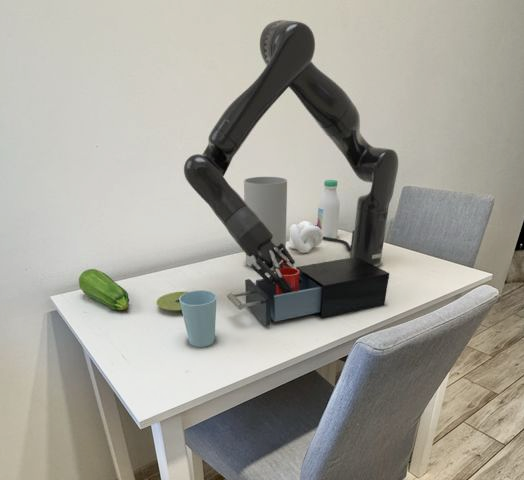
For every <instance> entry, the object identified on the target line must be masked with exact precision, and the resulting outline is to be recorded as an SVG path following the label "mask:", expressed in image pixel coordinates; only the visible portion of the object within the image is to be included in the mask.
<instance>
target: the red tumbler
mask: <svg viewBox="0 0 524 480" xmlns="http://www.w3.org/2000/svg"><path fill="white" fill-rule="evenodd" d="M279 271H280V273H281V275H282V277H284V279H285V280H286V281H287V282H288V283H289V285H290V286H291V287H292V289H293V290H292V291H291V292H295V291H299V274H300V272H299V270H298V269H296V267H294V268H291V267H285V266H284V268H279ZM279 294H284V293H283V292H282V290H281V289H280V288H279V287H278V286H277V284H276V295H279Z"/></svg>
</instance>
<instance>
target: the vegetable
mask: <svg viewBox="0 0 524 480" xmlns="http://www.w3.org/2000/svg"><path fill="white" fill-rule="evenodd" d="M78 286H79V289H80V290H81V291H82V292H83V293H84V295H86V296H87V297H90V298H92V299H93V300H96V301H97V302H99V303H102V304H104V305H106V306H107V307H109V308H110V309H111V310H117V311H124V310H126V309H127V308H128V307H129V306H130V298H129V293H128V292H127V290H126V289H125V288H123V287H122V286H121V285H119V284H118V283H117V282H115V280H114V279H112V278H111V277H110V276H109V275H108V274H106V273H105V272H103V271H101V270H98V269H95V268H90V269H86V270H84V271H83V272H82V273H81V274H80V275H79V277H78Z"/></svg>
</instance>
